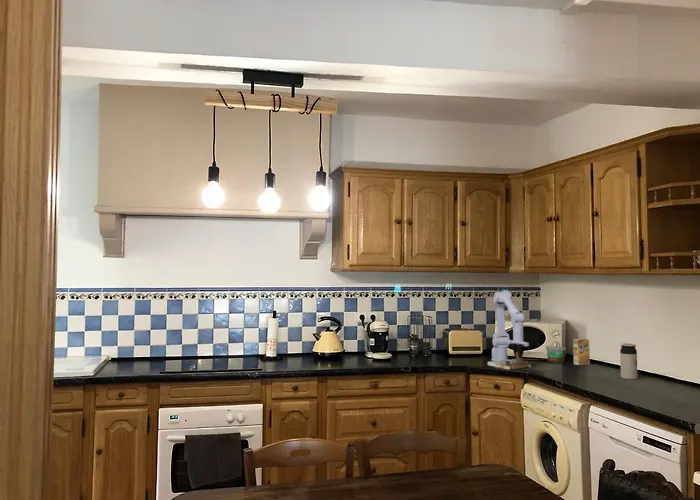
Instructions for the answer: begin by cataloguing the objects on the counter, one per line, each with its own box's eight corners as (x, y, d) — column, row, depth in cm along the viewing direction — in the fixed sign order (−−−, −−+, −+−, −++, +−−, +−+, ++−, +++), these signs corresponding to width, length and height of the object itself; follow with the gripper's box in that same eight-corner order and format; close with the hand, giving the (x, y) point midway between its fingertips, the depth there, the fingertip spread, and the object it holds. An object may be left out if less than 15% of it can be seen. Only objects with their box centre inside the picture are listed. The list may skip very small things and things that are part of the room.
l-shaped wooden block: (510, 368, 330) (509, 353, 330) (525, 365, 335) (524, 350, 335) (513, 369, 327) (512, 353, 327) (528, 366, 333) (528, 351, 333)
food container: (544, 362, 351) (544, 346, 351) (546, 360, 356) (545, 345, 357) (565, 363, 345) (565, 347, 346) (566, 362, 351) (566, 346, 351)
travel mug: (617, 377, 300) (617, 344, 301) (625, 376, 305) (624, 342, 306) (632, 380, 294) (631, 345, 294) (640, 378, 299) (639, 344, 299)
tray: (487, 365, 342) (487, 361, 342) (508, 362, 350) (508, 359, 350) (495, 366, 336) (495, 363, 336) (517, 364, 344) (516, 361, 344)
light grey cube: (500, 366, 336) (500, 360, 336) (505, 366, 338) (505, 359, 338) (505, 367, 333) (505, 361, 333) (510, 367, 335) (510, 360, 335)
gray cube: (511, 366, 338) (511, 359, 338) (516, 365, 340) (516, 359, 340) (516, 367, 335) (516, 360, 335) (521, 366, 337) (521, 359, 337)
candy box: (578, 365, 340) (577, 339, 340) (573, 364, 344) (572, 339, 344) (590, 364, 342) (589, 339, 343) (585, 363, 346) (584, 338, 347)
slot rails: (495, 366, 336) (495, 364, 336) (517, 364, 344) (516, 361, 344) (509, 369, 326) (509, 367, 326) (530, 367, 334) (530, 364, 334)
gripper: (504, 333, 336) (504, 356, 336) (522, 335, 323) (522, 359, 323) (513, 332, 339) (513, 355, 339) (531, 334, 327) (531, 358, 326)
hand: (518, 357), depth 331 cm, fingers closed on l-shaped wooden block, 2 cm apart
